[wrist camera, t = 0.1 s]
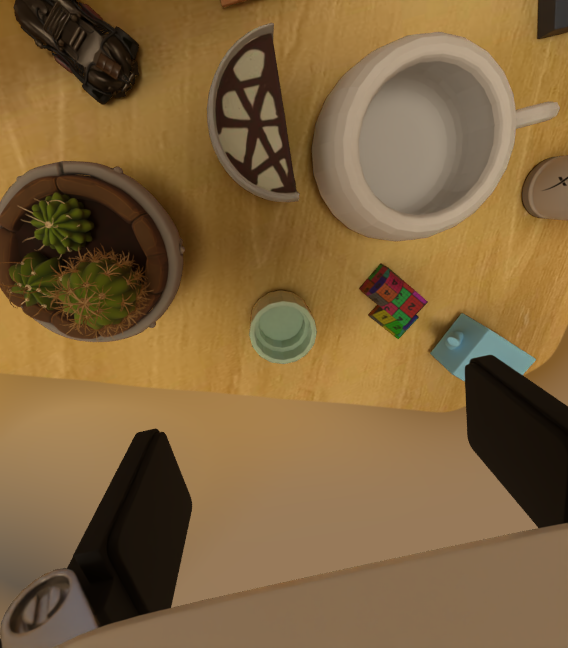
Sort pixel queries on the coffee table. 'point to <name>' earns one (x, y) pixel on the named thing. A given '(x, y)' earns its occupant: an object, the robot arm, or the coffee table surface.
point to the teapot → (476, 347)
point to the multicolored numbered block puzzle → (392, 301)
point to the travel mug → (548, 189)
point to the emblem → (230, 2)
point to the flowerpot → (88, 251)
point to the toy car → (82, 44)
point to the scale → (552, 17)
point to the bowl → (282, 327)
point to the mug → (417, 136)
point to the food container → (252, 118)
